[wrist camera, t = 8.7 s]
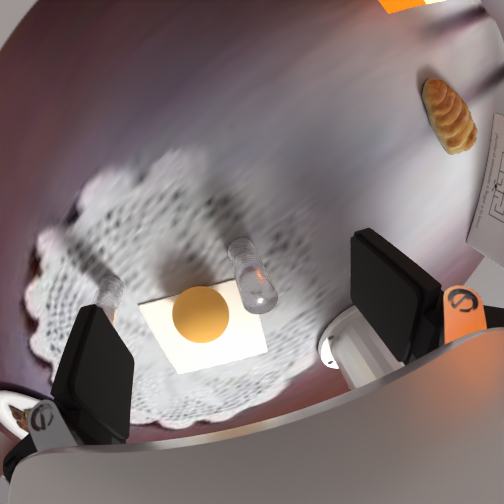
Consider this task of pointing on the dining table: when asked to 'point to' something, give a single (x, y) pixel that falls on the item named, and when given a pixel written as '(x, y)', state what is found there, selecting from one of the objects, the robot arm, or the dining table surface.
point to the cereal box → (491, 201)
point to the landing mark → (215, 352)
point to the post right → (251, 277)
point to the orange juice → (403, 4)
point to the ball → (200, 314)
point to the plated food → (16, 411)
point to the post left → (109, 296)
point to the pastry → (449, 117)
